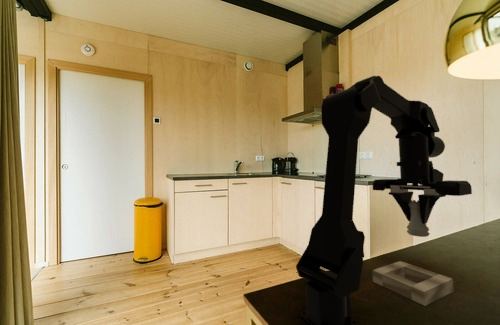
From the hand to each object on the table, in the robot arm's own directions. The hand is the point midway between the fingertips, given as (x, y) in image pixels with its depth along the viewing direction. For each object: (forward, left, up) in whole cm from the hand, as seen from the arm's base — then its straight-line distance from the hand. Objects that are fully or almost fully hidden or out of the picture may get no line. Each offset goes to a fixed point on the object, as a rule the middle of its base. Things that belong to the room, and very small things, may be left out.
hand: (417, 222), depth 54 cm
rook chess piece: (0, 0, -3) cm, 3 cm away
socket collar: (-9, -3, -12) cm, 15 cm away
